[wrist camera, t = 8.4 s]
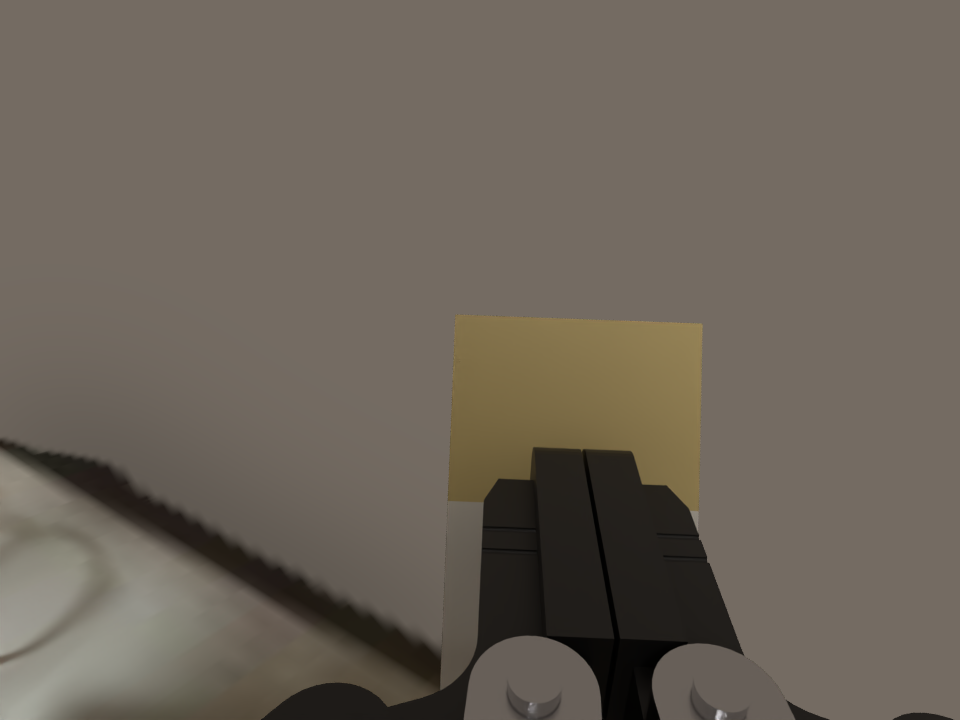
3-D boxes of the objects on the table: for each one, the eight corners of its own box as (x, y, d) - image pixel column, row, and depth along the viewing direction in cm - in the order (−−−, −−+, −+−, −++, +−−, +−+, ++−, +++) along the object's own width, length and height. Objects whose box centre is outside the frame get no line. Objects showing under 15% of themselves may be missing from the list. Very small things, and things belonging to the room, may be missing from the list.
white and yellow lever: (395, 1144, 10) (430, 313, 11) (408, 1033, 12) (438, 325, 13) (712, 1161, 10) (727, 324, 11) (678, 1047, 12) (693, 335, 13)
